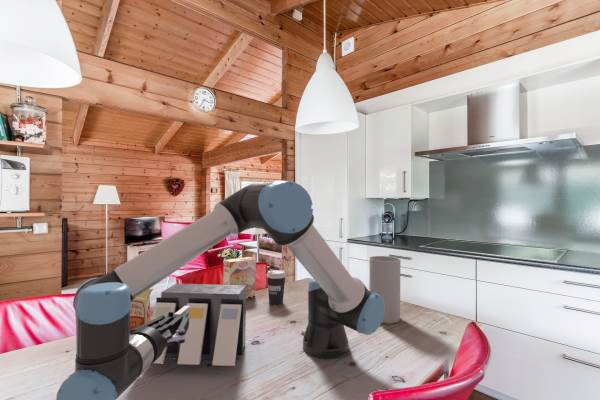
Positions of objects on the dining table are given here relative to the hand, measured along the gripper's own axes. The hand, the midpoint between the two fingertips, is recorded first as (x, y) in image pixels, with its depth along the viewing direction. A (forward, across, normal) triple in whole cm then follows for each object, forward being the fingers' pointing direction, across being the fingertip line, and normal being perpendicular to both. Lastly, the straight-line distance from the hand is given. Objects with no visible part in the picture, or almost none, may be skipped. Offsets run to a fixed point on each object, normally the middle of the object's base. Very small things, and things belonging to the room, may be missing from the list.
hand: (187, 310), depth 83 cm
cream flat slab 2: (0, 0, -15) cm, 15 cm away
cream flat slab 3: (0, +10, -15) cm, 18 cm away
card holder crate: (+13, 0, -18) cm, 22 cm away
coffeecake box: (+68, -2, -18) cm, 70 cm away
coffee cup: (+61, +17, -18) cm, 66 cm away
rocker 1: (0, -10, -15) cm, 17 cm away
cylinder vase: (+46, +65, -18) cm, 81 cm away
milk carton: (+15, -23, -18) cm, 33 cm away
